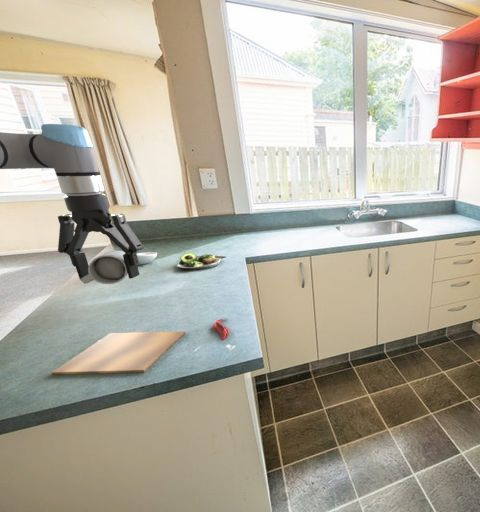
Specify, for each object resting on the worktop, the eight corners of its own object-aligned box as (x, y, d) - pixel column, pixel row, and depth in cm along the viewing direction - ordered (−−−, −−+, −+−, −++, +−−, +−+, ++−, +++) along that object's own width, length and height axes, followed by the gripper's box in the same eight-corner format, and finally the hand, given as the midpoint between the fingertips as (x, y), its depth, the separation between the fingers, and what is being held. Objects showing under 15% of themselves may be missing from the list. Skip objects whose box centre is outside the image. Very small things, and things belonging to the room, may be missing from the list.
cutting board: (52, 374, 66) (51, 372, 66) (111, 334, 81) (110, 332, 81) (144, 372, 67) (144, 370, 67) (185, 333, 82) (185, 331, 82)
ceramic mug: (138, 271, 85) (131, 245, 82) (130, 281, 78) (122, 253, 75) (89, 278, 80) (80, 251, 78) (76, 289, 73) (66, 260, 71)
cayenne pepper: (214, 321, 89) (213, 315, 88) (231, 318, 90) (230, 312, 90) (208, 343, 78) (207, 337, 77) (228, 339, 80) (226, 333, 79)
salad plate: (227, 255, 149) (226, 246, 147) (227, 266, 134) (225, 256, 132) (182, 260, 141) (180, 251, 139) (176, 273, 125) (173, 262, 124)
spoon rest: (135, 259, 142) (131, 245, 139) (163, 257, 144) (159, 243, 142) (104, 277, 120) (99, 261, 118) (138, 275, 123) (134, 258, 121)
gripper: (147, 192, 76) (166, 271, 83) (48, 192, 74) (75, 272, 81) (124, 195, 69) (147, 281, 76) (14, 195, 67) (48, 283, 74)
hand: (110, 277), depth 78 cm, fingers closed on ceramic mug, 11 cm apart
